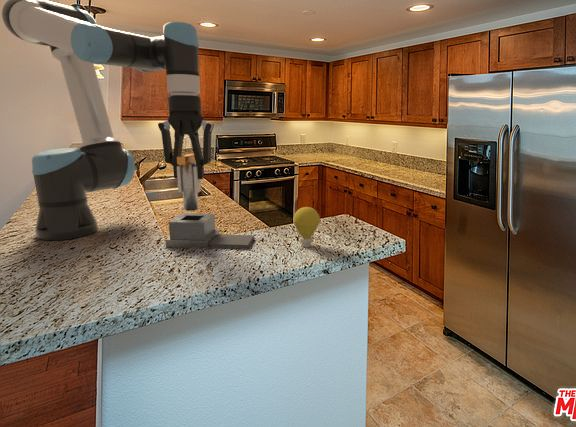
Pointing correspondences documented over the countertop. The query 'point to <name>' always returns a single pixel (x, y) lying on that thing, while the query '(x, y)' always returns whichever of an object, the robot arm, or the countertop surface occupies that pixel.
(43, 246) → the countertop surface
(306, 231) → the light bulb
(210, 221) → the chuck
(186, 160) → the key
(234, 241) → the mat
